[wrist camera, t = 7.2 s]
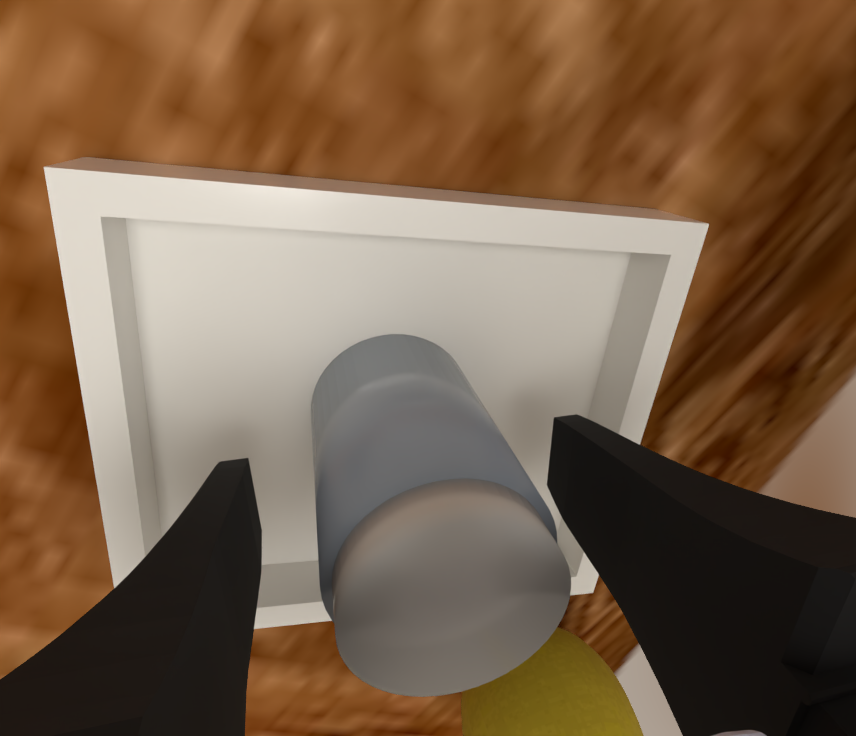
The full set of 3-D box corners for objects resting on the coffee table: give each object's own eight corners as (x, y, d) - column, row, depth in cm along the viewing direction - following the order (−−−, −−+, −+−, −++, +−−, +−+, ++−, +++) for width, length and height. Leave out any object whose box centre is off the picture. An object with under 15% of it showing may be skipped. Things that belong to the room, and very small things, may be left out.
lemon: (480, 695, 23) (565, 961, 16) (410, 630, 20) (474, 913, 13) (593, 625, 22) (732, 864, 15) (537, 549, 20) (673, 795, 13)
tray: (655, 208, 15) (709, 224, 13) (563, 545, 20) (593, 592, 18) (85, 156, 12) (43, 166, 10) (142, 579, 16) (123, 642, 15)
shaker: (473, 330, 15) (603, 493, 9) (462, 466, 17) (561, 679, 10) (306, 337, 14) (316, 526, 8) (314, 480, 16) (327, 724, 9)
